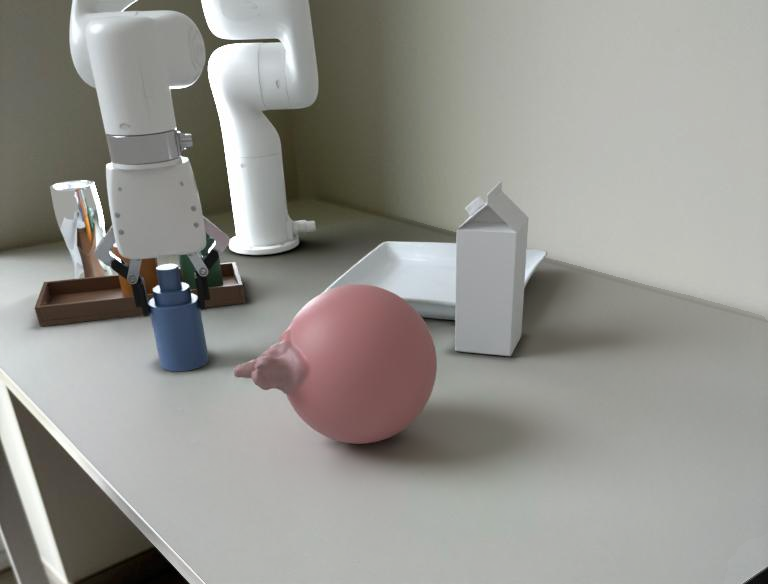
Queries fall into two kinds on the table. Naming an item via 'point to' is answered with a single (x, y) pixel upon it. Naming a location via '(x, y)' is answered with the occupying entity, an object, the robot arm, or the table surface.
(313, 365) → the balloon
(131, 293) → the amber bottle
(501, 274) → the milk carton
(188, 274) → the green bottle
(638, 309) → the table surface
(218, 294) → the tray
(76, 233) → the beer glass
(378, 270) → the square plate
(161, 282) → the blue bottle
